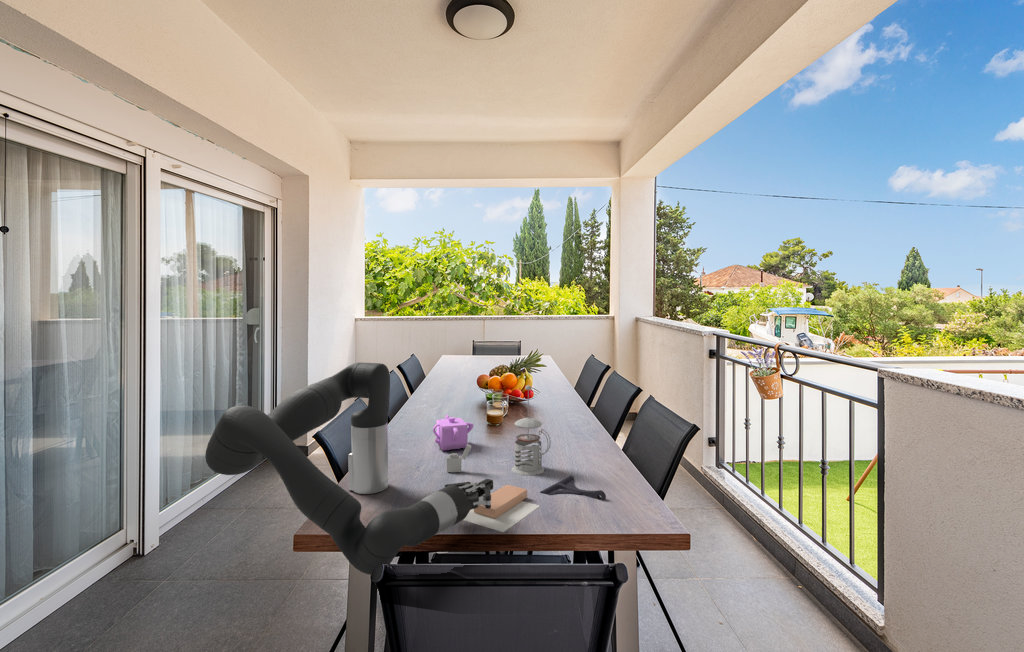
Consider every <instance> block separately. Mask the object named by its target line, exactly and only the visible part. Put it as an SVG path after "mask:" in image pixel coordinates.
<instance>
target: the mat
mask: <svg viewBox="0 0 1024 652" xmlns="http://www.w3.org/2000/svg"><path fill="white" fill-rule="evenodd" d="M492 493H493V492H491V494H492ZM538 508H540V505H538V504H535V503H532V502H527V501H524V500H522V501H521V502H519V503H518V504H516V505H515V506H513V507H512V508H510V509H509V510H507V511H506V512H504V513H503V514H501V515H500V516H498V517H497V518H492V517H489V516H485V515H482V514H478V513H475V512H474V509H472V510H470V511H469V513H468V515H467V516H466V517H465V519H463V520H462V521H465V522H467V523H468V522H469V523H472V524H475V525H477V526H478V525H479V526H481V527H484V528H488V529H491V530H494V531H497V532H501V533H505V532H506V531H507V530H509V529H510V528H512V527H513V526H515V525H516V524H518V522H520V521H521V520H523V519H525V518H526V517H527V516H528V515H530V514H531V513H533V512H534V511H535V510H537V509H538Z"/></svg>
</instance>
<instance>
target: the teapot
mask: <svg viewBox="0 0 1024 652" xmlns="http://www.w3.org/2000/svg"><path fill="white" fill-rule="evenodd" d="M444 417H445V418H440V419H436V424H435V425H434V426H433V427H432V432H433V434H434V436H435V438H434V442H435V443H436V444H437V445H438V446H439V448H440V449H441V451H444V450H448V451H449V450H461V449H460V448H463V449H465V448H466V446H467V444H469V442H468V434H470V432H471V431H472V430H473V429H474V427H475V426H474V423H472V422H465V420H464V419H462V418H461V417H455V416H451V417H450V416H449V414H445V416H444Z"/></svg>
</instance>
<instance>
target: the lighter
mask: <svg viewBox="0 0 1024 652" xmlns="http://www.w3.org/2000/svg"><path fill="white" fill-rule="evenodd" d="M471 448H472V445H471V444H469V443H468V444H467V446H466V448H464V450H463V452H462V455H459V456H458V454H459V453H458V452H457V453H456V452H455V453H454V452H453V453H449V455H447V457H446V473H447V472H461V473H462V467H463V465H462V463H463V462H462V459H463V460H466V459H467V457H468V455H469V453H470V451H471Z"/></svg>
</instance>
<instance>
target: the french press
mask: <svg viewBox="0 0 1024 652" xmlns="http://www.w3.org/2000/svg"><path fill="white" fill-rule="evenodd" d="M524 389H525V390H527V417H524V418H521V419H517V420H516V421H515V422H514V423H513V424H514V426H515V427H516V428H519V429H527V433H524V434H523V433H520V434H518V435H516V436H515V437H516V438H515V439H516V440H515V443H514V465H513V467H511V472H512V471H513V473H514V472H515V473H514V474H516V473H517V475H519V474H520V476H527V475H529V476H537V475H536V474H538V475H541V474H543V473H544V472H545V471H544V469H545V468H544V467H543V466H542V463H543V461H542V460H543V459H542V458H543V457H542V456H543V455H545V454H547V453H548V452H549V450H550V448H551V444H549V443H551V441H552V440H551V437H550V435H549V433H548V432H547V431H546V430H545V429H543V428H541V429H540V430H539V431H538V434H534V433H529V429H531V430H532V429H538V428H540V427H541V426H542V425H543V423H542V422H541V421H540V420H539V419H537V418H533V417H529V415H530V414H529V413H530V411H529V409H530V407H529V406H530V405H529V404H530V403H529V402H530V399H529V398H530V395H529V394H530V393H529V391H530V390H532V386H531V385H529V384H527V385H525V388H524ZM542 434H543V435H544V436H545V438H546V441H547V446H546V449H545V451H544V452H543V453H542V441H541V440H540V439H541V435H542ZM527 450H528V451H527ZM522 455H523V456H522ZM524 459H525V460H524Z"/></svg>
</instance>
